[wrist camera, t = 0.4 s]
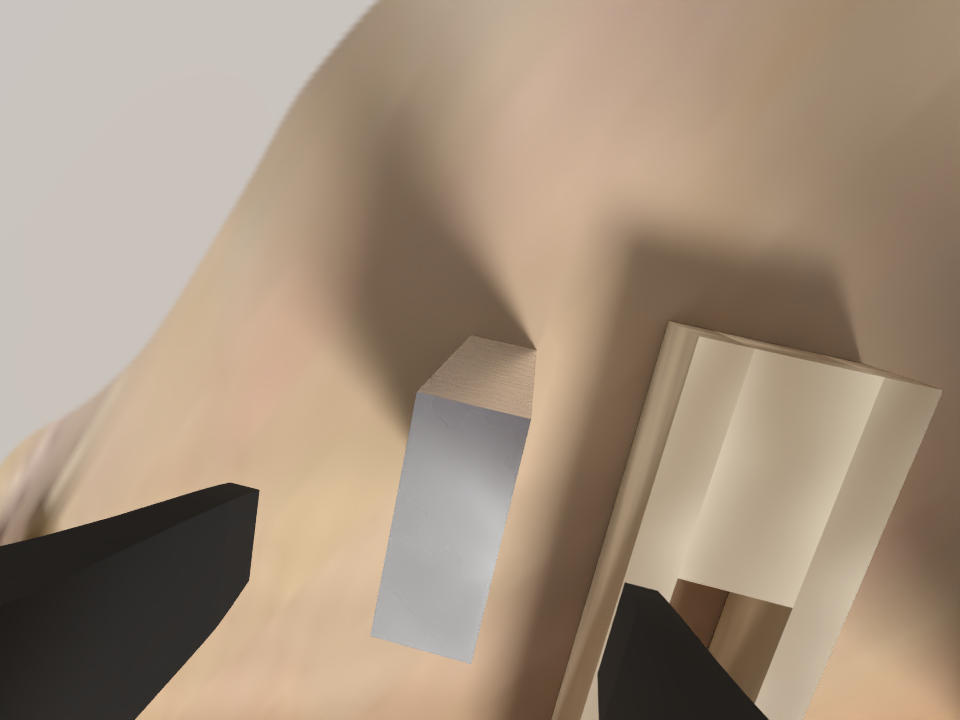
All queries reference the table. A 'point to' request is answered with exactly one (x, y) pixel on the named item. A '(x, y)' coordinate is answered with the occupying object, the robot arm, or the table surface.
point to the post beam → (754, 505)
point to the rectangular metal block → (455, 497)
